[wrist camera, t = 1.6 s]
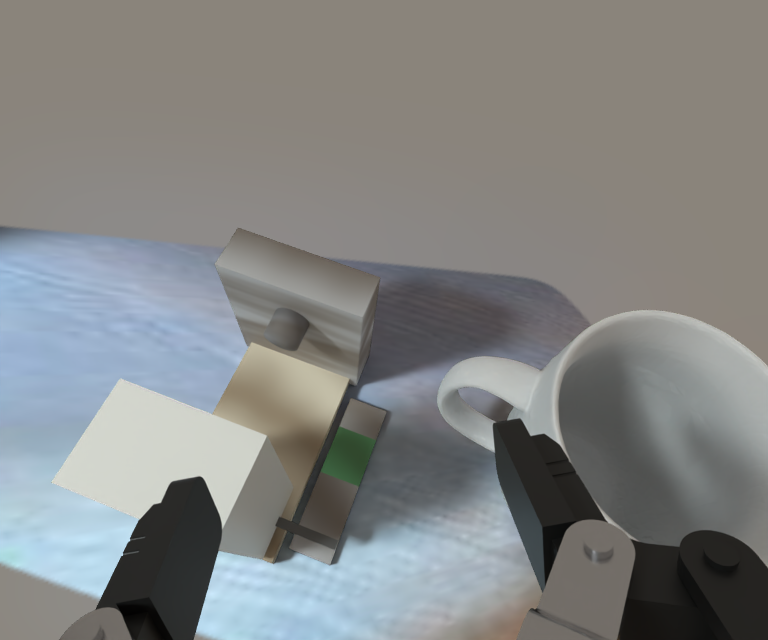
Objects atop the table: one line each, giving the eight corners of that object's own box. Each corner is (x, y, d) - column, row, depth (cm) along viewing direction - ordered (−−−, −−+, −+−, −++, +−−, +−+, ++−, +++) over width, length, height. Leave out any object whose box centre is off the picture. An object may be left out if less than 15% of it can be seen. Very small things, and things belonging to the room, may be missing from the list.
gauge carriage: (322, 584, 26) (311, 591, 16) (163, 518, 27) (50, 482, 17) (350, 509, 28) (357, 470, 18) (199, 450, 29) (120, 378, 18)
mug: (387, 493, 30) (417, 443, 19) (454, 348, 35) (512, 236, 23) (622, 617, 28) (821, 647, 16) (658, 444, 33) (832, 373, 21)
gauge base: (323, 584, 28) (315, 588, 19) (154, 514, 28) (71, 487, 20) (403, 367, 34) (426, 293, 25) (263, 315, 35) (238, 227, 26)
